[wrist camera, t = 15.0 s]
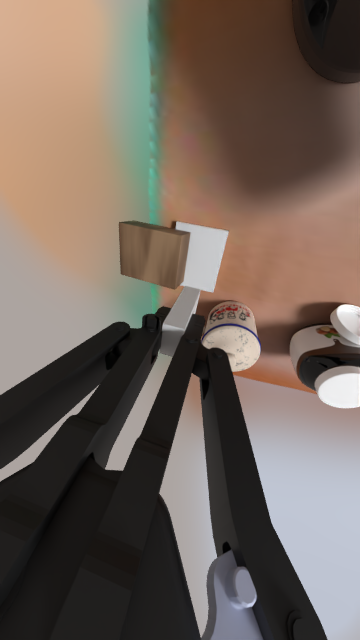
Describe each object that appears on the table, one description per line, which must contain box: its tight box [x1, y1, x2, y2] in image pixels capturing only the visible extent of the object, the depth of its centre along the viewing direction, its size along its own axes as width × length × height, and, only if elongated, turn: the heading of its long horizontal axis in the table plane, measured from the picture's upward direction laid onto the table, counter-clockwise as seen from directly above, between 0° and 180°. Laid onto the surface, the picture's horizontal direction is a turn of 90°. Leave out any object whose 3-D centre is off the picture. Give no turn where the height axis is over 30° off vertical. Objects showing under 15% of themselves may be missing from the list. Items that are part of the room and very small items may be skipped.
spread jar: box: [290, 304, 360, 408], centre depth 30 cm, size 12×11×12 cm
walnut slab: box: [119, 221, 191, 289], centre depth 31 cm, size 4×8×10 cm
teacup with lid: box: [201, 301, 261, 372], centre depth 33 cm, size 12×9×12 cm
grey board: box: [176, 221, 229, 292], centre depth 32 cm, size 10×8×1 cm
